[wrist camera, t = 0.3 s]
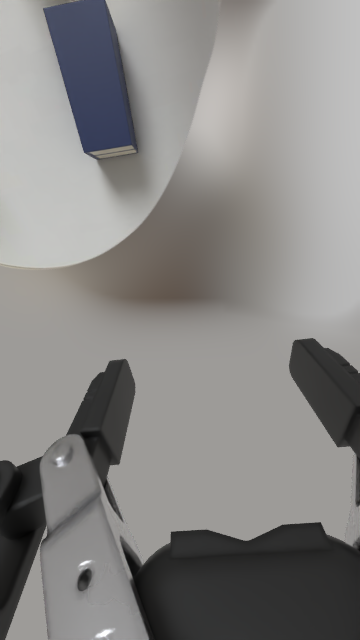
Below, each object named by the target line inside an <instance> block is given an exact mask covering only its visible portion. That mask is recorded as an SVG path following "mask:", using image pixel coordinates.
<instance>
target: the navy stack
mask: <svg viewBox="0 0 360 640" xmlns="http://www.w3.org/2000/svg"><path fill="white" fill-rule="evenodd" d="M43 10H44V13H45V17H46V20H47V24H48V27H49V31H50V34H51V38H52V41H53V45H54V48H55V52H56V55H57V59H58V62H59V66H60V69H61V73H62V77H63V80H64V84H65V87H66V91H67V94H68V98H69V101H70V105H71V108H72V112H73V115H74V119H75V122H76V126H77V129H78V133H79V136H80V140H81V144H82V147H83V151H84V153H86V154H88V155H89V156H91V157H93V158H95V159H102V158H108V157H114V156H120V155H126V154H132V153H138V150H137V144H136V139H135V133H134V127H133V122H132V116H131V111H130V105H129V100H128V94H127V89H126V83H125V78H124V72H123V67H122V61H121V56H120V50H119V45H118V39H117V34H116V29H115V26H114V23H113V20H112V18H111V15H110V12H109V9H108V7H107V4H106V1H105V0H81V1H76V2H71V3H66V4H61V5H57V6H52V7H47V8H43Z"/></svg>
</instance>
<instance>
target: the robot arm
mask: <svg viewBox="0 0 360 640" xmlns="http://www.w3.org/2000/svg"><path fill="white" fill-rule="evenodd" d="M289 369H290V373H291V376H292V378H293V380H294V381H295V383H296V384H297V386H298V387H299V389H300V390H301V392H302V393H303V395H304V396H305V398H306V400H307V401H308V403H309V404H310V406H311V407H312V409H313V410H314V411H315V413H316V415H317V416H318V418H319V419H320V421H321V422H322V424H323V425H324V427H325V429H326V430H327V432H328V433H329V435H330V436H331V438H332V439H333V441H334V442H335V444H336V445H337V447H346V446H350V447H351V448H352V449H353V451H354V452H355V454H354V456H353V469H352V493H351V510H350V516H349V519H348V523H347V527H346V533H345V542H343V541H341V540H339V539H337V538H334V537H332V536H330V535H326V533H325V531H324V529H323V526H322V524H321V522H319V523H304V524H288V525H281V526H279V527H277V528H275V529H273V530H271V531H269V532H267V533H265V534H262V535H260V536H258V537H256V538H254V539H252V540H249V541H243V540H239V539H236V538H233V537H230V536H226V535H223V534H220V533H216V532H213V531H209V530H192V531H176V532H171V543H169V544H166V545H165V546H163V547H162V548H160V549H159V550H157V551H156V552H155V553H154V554H153V555H152V556H151V557H149V558H148V560H147V561H146V562H145V563H144V561H143V559H142V556H141V554H140V551H139V549H138V547H137V544H136V543H135V540H134V538H133V536H132V534H131V532H130V530H129V529H128V526H127V524H126V522H125V519H124V517H123V514H122V512H121V509H120V507H119V504H118V502H117V499H116V497H115V494H114V492H113V489H112V487H111V484H110V482H109V479H108V477H107V474H108V471H109V467H110V465H118V464H119V463H120V459H121V454H122V450H123V445H124V441H125V436H126V432H127V427H128V423H129V418H130V413H131V409H132V404H133V400H134V395H135V382H134V379H133V376H132V373H131V370H130V367H129V364H128V361H127V360H126V359H122V360H113V361H110V362H109V364H108V366H107V368H106V371H105V372H102V373H99V374H98V375H97V377H96V378H95V379H94V380H93V381H92V382H91V384H90V386H89V388H88V392H87V393H86V395H85V397H84V401H82V403H81V405H80V408H79V409H78V412H77V414H76V416H75V418H74V420H73V422H72V424H71V426H70V428H69V431H68V433H67V434H66V436H64V437H62V438H60V439H58V440H57V441H56V442H54V443H53V444H52V445H51V446H50V447H49V448H48V450H47V451H46V452H45V454H44V455H43V456H42V457H40V458H37V459H35V460H32V461H30V462H27V463H25V464H22V465H20V466H17V467H16V466H15V465H13V464H12V463H11V462H10V461H0V640H5V638H6V635H7V633H8V630H9V627H10V624H11V622H12V619H13V616H14V613H15V610H16V608H17V605H18V602H19V600H20V597H21V594H22V591H23V588H24V585H25V583H26V580H27V577H28V575H29V572H30V569H31V566H32V564H33V561H34V558H35V556H36V553H37V550H38V547H39V544H40V542H41V539H42V536H43V533H44V530H45V528H46V525H47V537H46V538H45V539H44V540H43V541H42V543H41V547H40V562H41V572H42V582H43V593H44V602H45V613H46V623H47V633H48V640H360V373H358V371H357V370H356V369H355V368H354V367H353V366H350V364H349V362H347V361H346V360H345V359H344V358H343V357H342V356H341V355H340V354H338V353H336V352H334V351H332V350H330V349H329V348H323V347H322V346H321V345H320V344H319V343H318V342H317V341H316V340H315V339H313V338H310V339H302V340H295V341H294V342H293V346H292V352H291V358H290V364H289Z"/></svg>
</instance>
